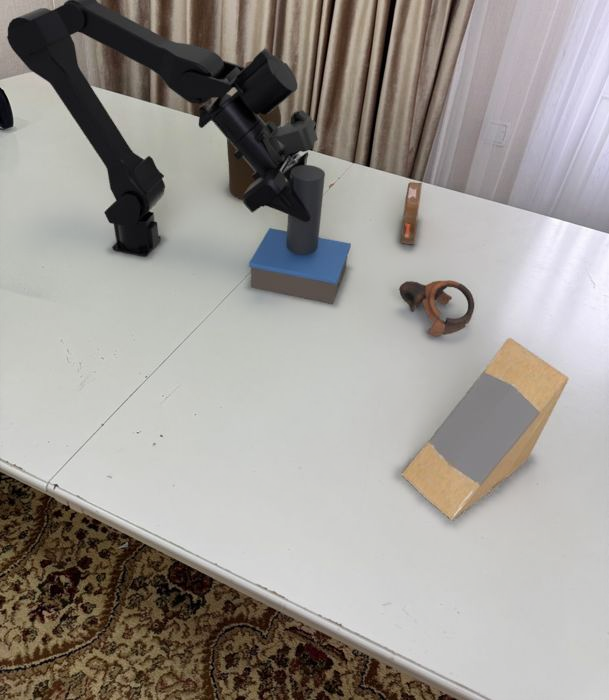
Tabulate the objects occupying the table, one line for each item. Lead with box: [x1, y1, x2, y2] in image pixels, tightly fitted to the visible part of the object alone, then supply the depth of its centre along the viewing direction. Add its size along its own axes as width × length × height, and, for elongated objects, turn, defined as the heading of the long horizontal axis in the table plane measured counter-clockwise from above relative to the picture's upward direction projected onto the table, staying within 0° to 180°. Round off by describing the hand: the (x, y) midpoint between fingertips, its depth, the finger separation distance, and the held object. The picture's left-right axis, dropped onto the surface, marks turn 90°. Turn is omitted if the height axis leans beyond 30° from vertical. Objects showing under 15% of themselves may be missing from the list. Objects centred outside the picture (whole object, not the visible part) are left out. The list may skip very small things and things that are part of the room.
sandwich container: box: [401, 337, 569, 521], centre depth 73 cm, size 9×15×15 cm, turn 129°
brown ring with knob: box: [398, 279, 475, 338], centre depth 98 cm, size 12×10×8 cm
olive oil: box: [226, 60, 282, 200], centre depth 120 cm, size 11×11×25 cm
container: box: [248, 227, 352, 305], centre depth 105 cm, size 15×12×5 cm
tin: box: [400, 181, 423, 246], centre depth 118 cm, size 15×3×8 cm, turn 168°
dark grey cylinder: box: [286, 164, 326, 255], centre depth 98 cm, size 5×5×13 cm
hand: (313, 212), depth 98 cm, fingers closed on dark grey cylinder, 5 cm apart
